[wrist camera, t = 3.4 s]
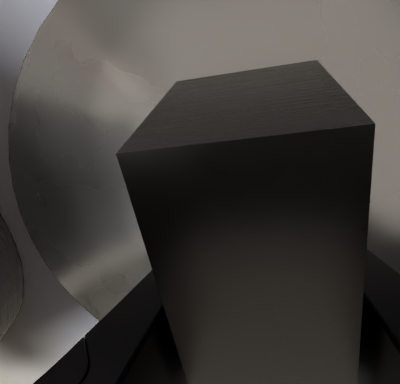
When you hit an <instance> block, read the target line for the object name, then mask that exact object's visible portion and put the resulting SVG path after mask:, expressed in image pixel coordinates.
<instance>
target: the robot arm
mask: <svg viewBox="0 0 400 384" xmlns="http://www.w3.org/2000/svg"><path fill="white" fill-rule="evenodd" d="M33 384H188V383H187V379H186V376H185V373H184V370H183V367H182V363H181V360H180V357H179V354H178V351H177V347H176V344H175V341H174V338H173V335H172V331H171V328H170V325H169V322H168V319H167V315H166V312H165V309H164V306H163V303H162V300H161V296H160V293H159V290H158V287H157V284H156V280H155V277H154V274H153V271H152V270H151V271H150V272H149V273H148V274H147V275H146V276H145V277H144V278H143V279H142V280H141V281H140V282H139V283H138V284H137V285H136V286H135V287H134V288H133V289H132V290H131V291H130V292H129V293H128V294H127V295H126V296H125V297H124V298H123V299H122V300H121V301H120V302H119V303H118V304H117V305H116V306H115V307H114V308H113V309H112V310H111V311H109V312H108V313H107V314H106V315H105V316H104V317H103V318H102V319H101V320H100V321H99V322H98V323H97V324H96V325H95V326H94V327H93V328H92V329H91V330H90V331H89V332H88V333H87V334H86V335H85V338H82V339H81V340H80V341H79V342H78V343H77V344H76V345H75V346H74V347H73V348H72V349H71V350H70V351H68V352H67V353H66V354H65V355H64V356H63V357H62V358H61V359H60V360H59V361H58V362H57V363H56V364H55V365H54V366H53V367H51V368H50V369H49V370H48V371H47V372H46V373H45V374H44V375H43V376H41V377H40V378H39V379H38V380H37V381H36V382H35V383H33ZM357 384H400V273H399V272H397V271H396V270H395V269H394V268H392V267H391V266H390V265H388V264H387V263H386V262H385V261H383V260H382V259H381V258H379V257H378V256H377V255H376V254H374V253H373V252H372V251H370V250H369V249H368V248H367V251H366V265H365V279H364V294H363V308H362V322H361V336H360V350H359V365H358V379H357Z"/></svg>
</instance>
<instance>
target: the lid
mask: <svg viewBox="0 0 400 384" xmlns="http://www.w3.org/2000/svg"><path fill="white" fill-rule="evenodd" d="M9 164H10V170H11V177H12V184H13V189H14V193H15V196H16V200H17V203H18V207H19V210H20V214H21V216H22V219H23V221H24V223H25V226H26V228H27V230H28V233H29V235H30V237H31V239H32V241H33V243H34V245H35V246H36V248H37V250H38V252H39V253H40V255H41V257H42V259H43V260H44V262H45V263H46V265H47V266H48V267H49V269H50V270H51V271H52V273H53V274H54V275H55V277H56V278H57V280H58V281H59V282H60V283H61V284H62V286H63V287H64V288H65V289H66V290H67V291H68V292H69V293H70V294H71V295H72V296H73V298H74V299H75V300H76V301H77V302H78V303H79V304H81V305H82V306H83V307H84V308H85V309H86V310H87V311H88V312H90V313H91V314H92V315H93V316H94V317H95V318H97V319H98V320H99V321H100V320H101V319H102V318H103V317H104V316H105V315H106V314H107V313H108V312H109V311H111V310H112V309H113V308H114V307H115V306H116V305H117V304H118V303H119V302H120V301H121V300H122V299H123V298H124V297H125V296H126V295H127V294H128V293H129V292H130V291H131V290H132V289H133V288H134V287H135V286H136V285H137V284H138V283H139V282H140V281H141V280H142V279H143V278H144V277H145V276H146V275H147V274H148V273H149V272H150V271H151V270H152V271H153V274H154V277H155V280H156V284H157V287H158V290H159V293H160V296H161V300H162V303H163V306H164V309H165V312H166V315H167V319H168V322H169V325H170V328H171V331H172V335H173V338H174V341H175V344H176V347H177V351H178V354H179V357H180V360H181V363H182V367H183V370H184V373H185V376H186V379H187V383H188V384H357V379H358V365H359V350H360V336H361V322H362V308H363V294H364V279H365V265H366V251H367V248H368V249H369V250H370V251H372V252H373V253H374V254H376V255H377V256H378V257H379V258H381V259H382V260H383V261H385V262H386V263H387V264H388V265H390V266H391V267H392V268H394V269H395V270H396V271H397V272H399V273H400V0H58V2H57V3H56V5H55V6H54V8H53V9H52V11H51V12H50V13H49V15H48V16H47V18H46V19H45V21H44V22H43V24H42V25H41V26H40V28H39V30H38V32H37V34H36V36H35V38H34V41H33V43H32V45H31V47H30V49H29V51H28V53H27V55H26V57H25V59H24V61H23V64H22V68H21V71H20V74H19V78H18V81H17V84H16V88H15V91H14V94H13V100H12V107H11V114H10V122H9Z"/></svg>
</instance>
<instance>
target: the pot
mask: <svg viewBox="0 0 400 384" xmlns="http://www.w3.org/2000/svg"><path fill="white" fill-rule="evenodd" d="M23 286H24V280H23V273H22V266H21V262H20V259H19V256H18V252H17V249H16V246H15V244H14V241H13V239H12V237H11V235H10V233H9V231H8V228H7V226H6V224H5V223H4V221H3V220H2V218H1V216H0V340H1V338H2V337H3V335H4V334H5V333H6V331H7V330H8V329H9V327H10V326H11V324H12V323H13V322H14V320H15V318H16V316H17V314H18V312H19V310H20V307H21V303H22V299H23Z"/></svg>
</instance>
